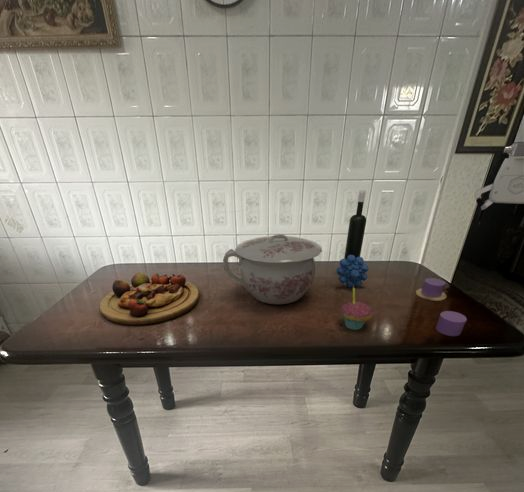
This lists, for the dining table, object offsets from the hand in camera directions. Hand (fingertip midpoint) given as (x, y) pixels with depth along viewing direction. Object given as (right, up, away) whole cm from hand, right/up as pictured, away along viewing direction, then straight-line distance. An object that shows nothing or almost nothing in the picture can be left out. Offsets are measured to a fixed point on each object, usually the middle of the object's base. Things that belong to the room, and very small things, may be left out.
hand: (500, 225), depth 83 cm
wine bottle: (-31, -4, +37) cm, 49 cm away
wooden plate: (-103, -19, +18) cm, 106 cm away
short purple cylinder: (-14, -29, +2) cm, 32 cm away
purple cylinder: (-8, -15, +21) cm, 27 cm away
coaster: (-8, -15, +21) cm, 27 cm away
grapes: (-34, -12, +26) cm, 45 cm away
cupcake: (-39, -27, +4) cm, 48 cm away
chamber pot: (-61, -16, +22) cm, 66 cm away
